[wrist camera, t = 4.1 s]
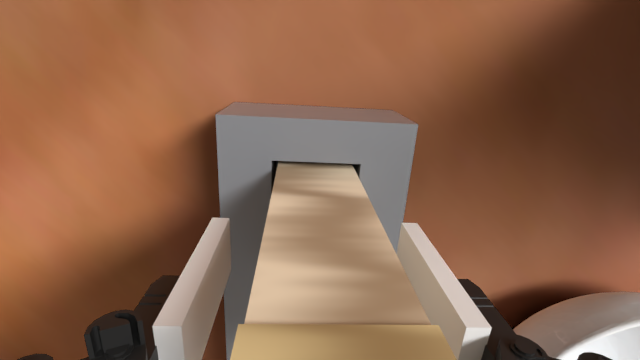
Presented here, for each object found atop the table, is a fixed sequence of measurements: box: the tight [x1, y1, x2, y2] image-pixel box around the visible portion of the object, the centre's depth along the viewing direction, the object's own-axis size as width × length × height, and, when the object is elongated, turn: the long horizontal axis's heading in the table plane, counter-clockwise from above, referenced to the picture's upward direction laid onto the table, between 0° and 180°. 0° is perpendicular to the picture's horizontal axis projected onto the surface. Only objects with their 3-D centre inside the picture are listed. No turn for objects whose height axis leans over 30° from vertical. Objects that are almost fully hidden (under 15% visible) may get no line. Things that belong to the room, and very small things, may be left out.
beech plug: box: [230, 161, 457, 360], centre depth 14 cm, size 4×6×16 cm
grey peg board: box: [216, 102, 418, 360], centre depth 23 cm, size 10×24×5 cm, turn 177°
